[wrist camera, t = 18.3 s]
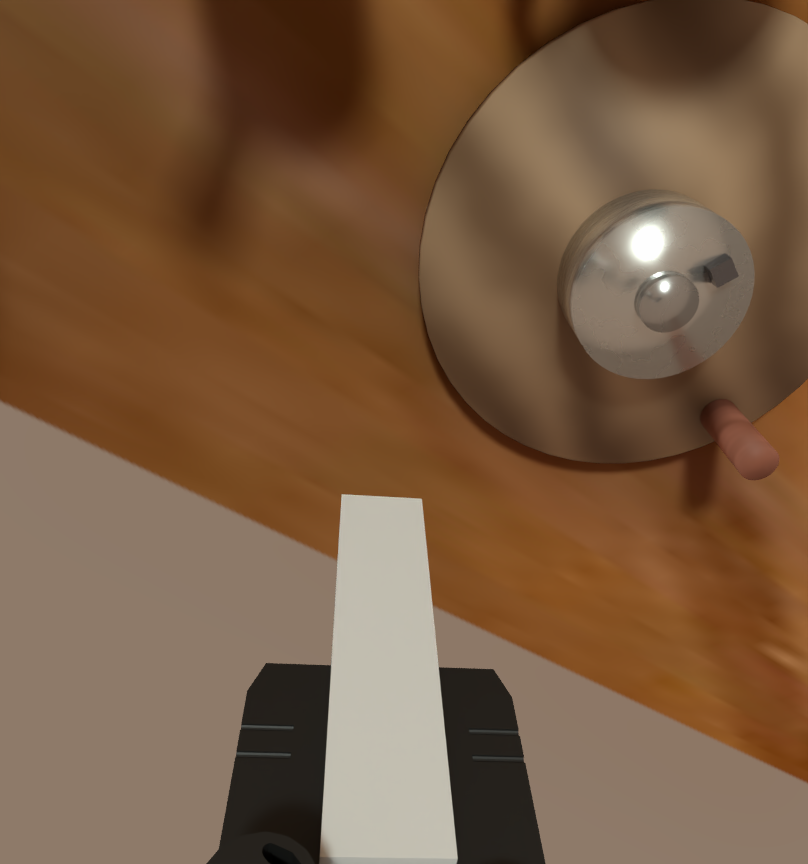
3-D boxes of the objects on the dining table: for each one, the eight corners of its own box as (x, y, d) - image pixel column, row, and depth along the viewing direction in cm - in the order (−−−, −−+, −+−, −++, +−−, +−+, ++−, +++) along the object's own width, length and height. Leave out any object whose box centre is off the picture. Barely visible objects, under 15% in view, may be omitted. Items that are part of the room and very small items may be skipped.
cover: (597, 377, 46) (620, 415, 42) (528, 250, 42) (546, 278, 38) (745, 298, 44) (786, 330, 40) (689, 153, 39) (728, 172, 35)
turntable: (542, 515, 54) (564, 581, 48) (327, 190, 41) (319, 224, 35) (925, 326, 47) (1008, 375, 41) (811, -135, 34) (907, -164, 28)
